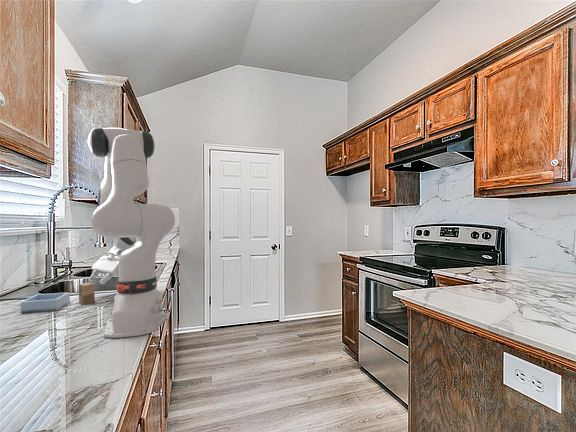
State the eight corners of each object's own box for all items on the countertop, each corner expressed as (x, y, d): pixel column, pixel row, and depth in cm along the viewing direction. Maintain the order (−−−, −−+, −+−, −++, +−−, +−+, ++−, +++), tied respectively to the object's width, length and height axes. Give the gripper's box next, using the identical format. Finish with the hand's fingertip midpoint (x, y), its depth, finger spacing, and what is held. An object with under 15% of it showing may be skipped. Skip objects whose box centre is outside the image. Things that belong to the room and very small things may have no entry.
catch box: (57, 310, 123) (56, 299, 123) (20, 313, 120) (20, 302, 120) (69, 302, 134) (69, 292, 134) (36, 304, 131) (36, 294, 131)
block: (94, 302, 133) (94, 283, 133) (83, 304, 130) (83, 285, 130) (89, 300, 136) (89, 282, 136) (79, 302, 133) (78, 284, 133)
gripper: (102, 249, 148) (78, 274, 140) (125, 252, 136) (101, 280, 128) (112, 258, 152) (90, 283, 144) (136, 261, 140) (113, 289, 132)
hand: (95, 282), depth 136 cm, fingers open, 8 cm apart
